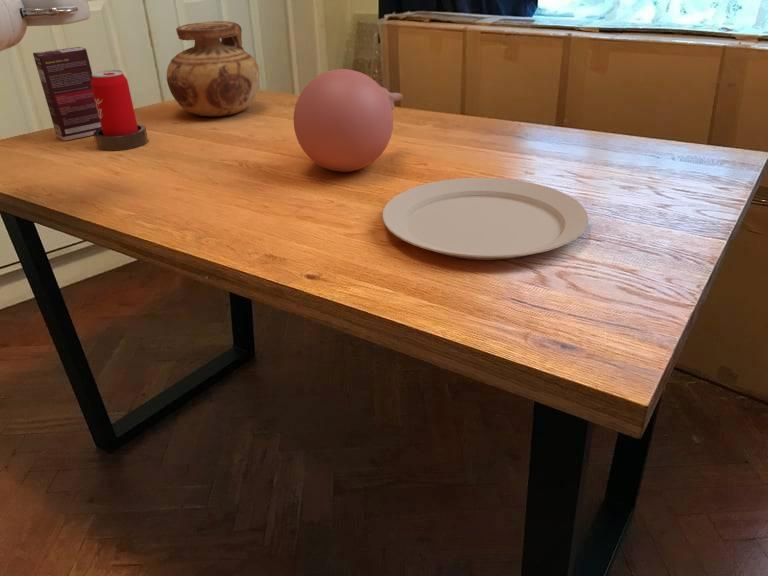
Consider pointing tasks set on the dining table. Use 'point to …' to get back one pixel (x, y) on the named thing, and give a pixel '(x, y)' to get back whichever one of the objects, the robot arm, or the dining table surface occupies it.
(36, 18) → the robot arm
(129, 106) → the beverage can
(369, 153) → the balloon
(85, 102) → the supplement box
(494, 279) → the dining table surface
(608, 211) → the dining table surface
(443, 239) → the plate
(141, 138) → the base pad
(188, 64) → the clay pot
